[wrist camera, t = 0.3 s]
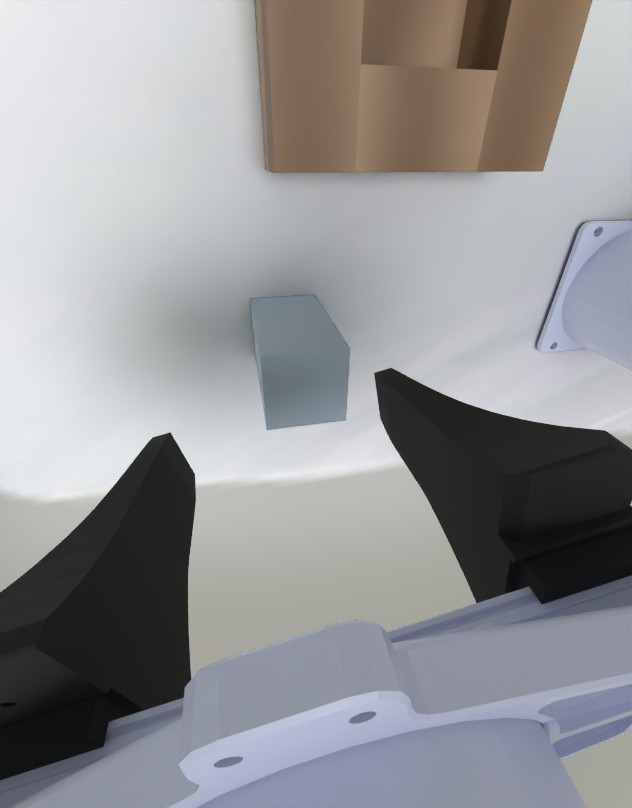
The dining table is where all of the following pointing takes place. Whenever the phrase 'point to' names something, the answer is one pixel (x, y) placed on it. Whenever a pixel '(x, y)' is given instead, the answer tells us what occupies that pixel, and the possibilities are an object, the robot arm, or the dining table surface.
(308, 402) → the peg
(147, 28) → the dining table surface
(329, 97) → the socket holder
